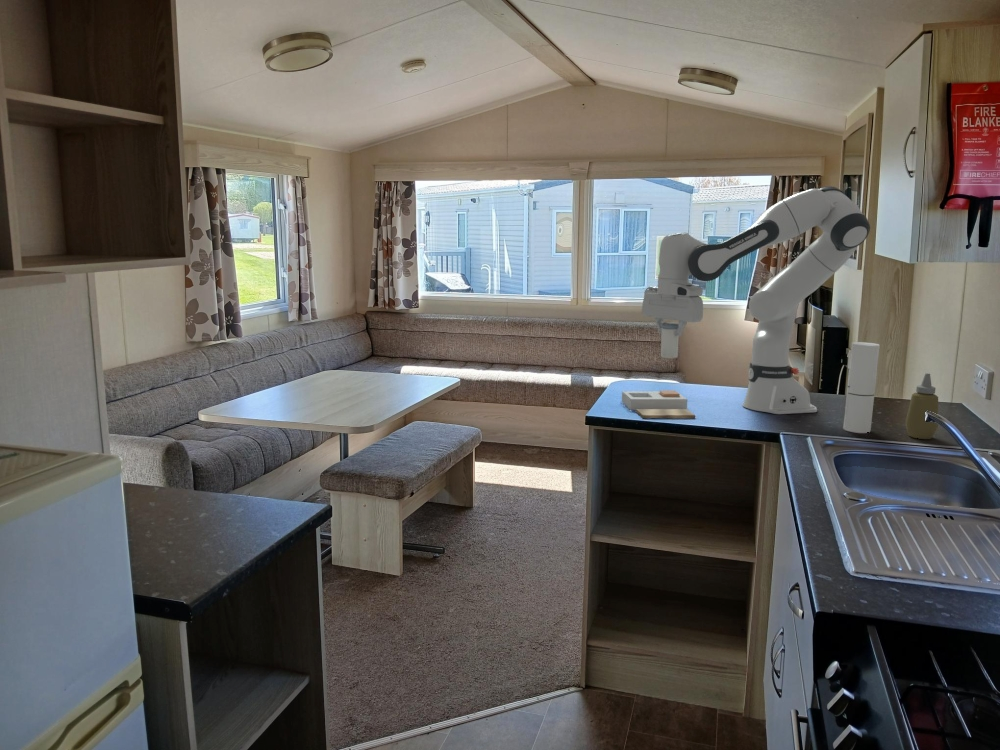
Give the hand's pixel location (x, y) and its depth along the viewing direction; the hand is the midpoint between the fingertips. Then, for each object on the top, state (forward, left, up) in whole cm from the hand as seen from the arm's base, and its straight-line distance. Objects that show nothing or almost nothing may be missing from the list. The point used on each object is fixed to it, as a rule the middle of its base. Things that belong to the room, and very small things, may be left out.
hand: (670, 334), depth 231 cm
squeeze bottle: (-65, +26, -25) cm, 74 cm away
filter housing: (0, -13, -25) cm, 28 cm away
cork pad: (0, 0, -25) cm, 25 cm away
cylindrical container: (-51, +18, -25) cm, 60 cm away
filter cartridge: (0, 0, -7) cm, 7 cm away
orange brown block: (-5, -13, -24) cm, 28 cm away
